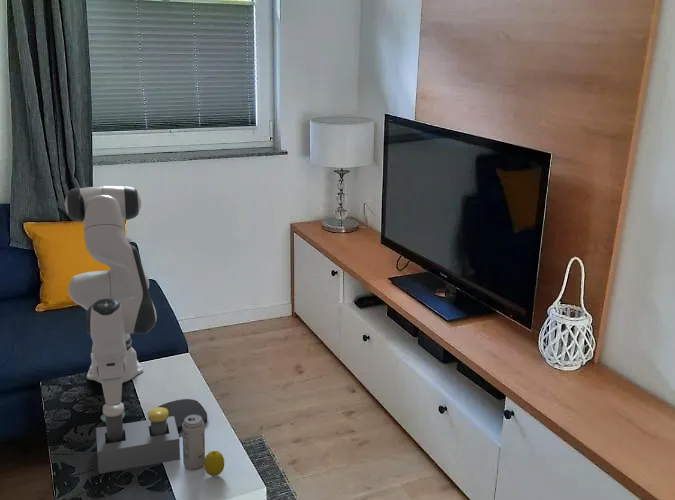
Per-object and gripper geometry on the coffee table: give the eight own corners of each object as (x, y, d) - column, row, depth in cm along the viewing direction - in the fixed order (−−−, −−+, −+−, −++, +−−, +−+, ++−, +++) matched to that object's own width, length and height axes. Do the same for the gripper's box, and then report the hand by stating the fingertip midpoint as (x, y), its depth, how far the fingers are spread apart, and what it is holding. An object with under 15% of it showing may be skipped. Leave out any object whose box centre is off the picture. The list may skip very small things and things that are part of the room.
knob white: (104, 437, 189) (102, 403, 185) (125, 434, 191) (123, 400, 187) (105, 449, 184) (103, 413, 180) (126, 445, 186) (124, 410, 182)
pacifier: (98, 418, 208) (102, 427, 203) (97, 400, 206) (100, 409, 201) (122, 413, 211) (126, 422, 206) (121, 395, 209) (125, 404, 204)
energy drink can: (205, 470, 186) (204, 424, 181) (183, 472, 184) (181, 425, 180) (205, 457, 191) (204, 412, 186) (183, 458, 190) (182, 413, 185)
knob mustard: (148, 442, 194) (147, 408, 191) (168, 439, 196) (167, 406, 193) (150, 453, 189) (149, 419, 186) (170, 450, 191) (169, 416, 188)
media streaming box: (211, 425, 207) (211, 416, 206) (165, 437, 200) (165, 429, 199) (194, 402, 219) (194, 394, 218) (150, 414, 211) (150, 405, 211)
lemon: (205, 469, 186) (204, 445, 183) (225, 469, 186) (225, 445, 184) (203, 482, 181) (202, 457, 178) (223, 482, 181) (223, 457, 179)
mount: (97, 448, 193) (96, 427, 190) (174, 436, 200) (173, 416, 198) (98, 473, 182) (97, 452, 180) (180, 459, 190) (179, 438, 187)
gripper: (96, 343, 187) (99, 386, 191) (98, 377, 169) (102, 424, 173) (120, 340, 189) (122, 383, 194) (124, 374, 171) (127, 420, 176)
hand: (113, 402), depth 183 cm, fingers closed
